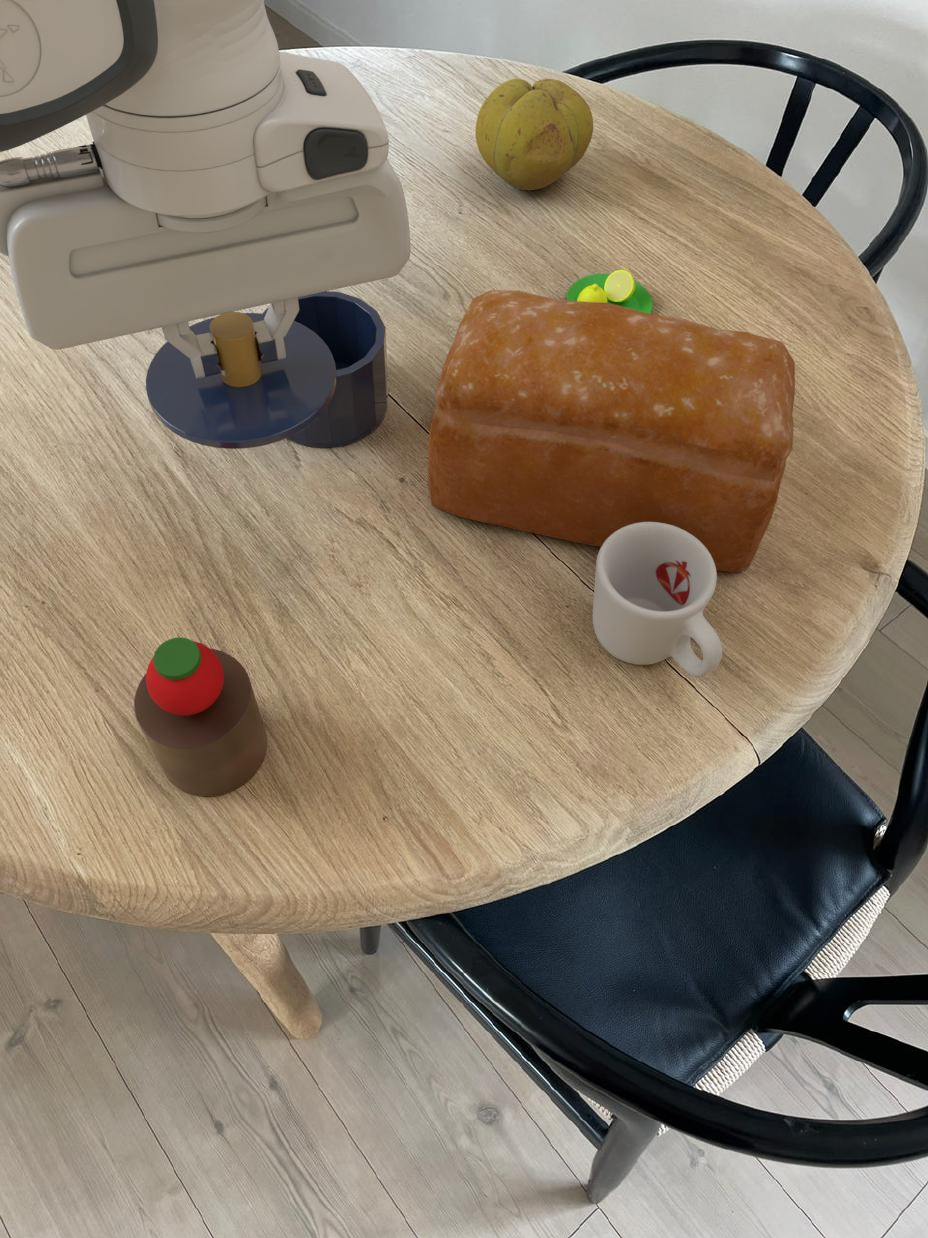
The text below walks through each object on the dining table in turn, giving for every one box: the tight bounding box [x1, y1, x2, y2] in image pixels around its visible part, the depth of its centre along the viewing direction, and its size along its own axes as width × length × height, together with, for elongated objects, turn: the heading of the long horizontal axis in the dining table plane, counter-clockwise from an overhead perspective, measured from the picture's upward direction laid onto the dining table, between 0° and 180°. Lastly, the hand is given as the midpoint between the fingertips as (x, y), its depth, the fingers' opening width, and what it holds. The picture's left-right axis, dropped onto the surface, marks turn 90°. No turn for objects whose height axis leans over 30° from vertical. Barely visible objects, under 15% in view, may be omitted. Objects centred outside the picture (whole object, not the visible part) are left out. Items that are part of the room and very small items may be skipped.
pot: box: [261, 290, 389, 449], centre depth 80 cm, size 10×10×8 cm
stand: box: [133, 647, 268, 798], centre depth 62 cm, size 7×7×7 cm
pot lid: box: [145, 311, 336, 450], centre depth 56 cm, size 11×11×5 cm
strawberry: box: [145, 637, 224, 715], centre depth 57 cm, size 4×4×5 cm
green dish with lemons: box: [566, 269, 653, 314], centre depth 90 cm, size 8×8×3 cm
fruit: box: [474, 78, 594, 191], centre depth 98 cm, size 11×12×10 cm
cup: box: [592, 522, 723, 678], centre depth 67 cm, size 11×8×8 cm
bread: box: [427, 289, 796, 573], centre depth 72 cm, size 14×26×16 cm, turn 76°
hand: (239, 361), depth 56 cm, fingers closed on pot lid, 2 cm apart
